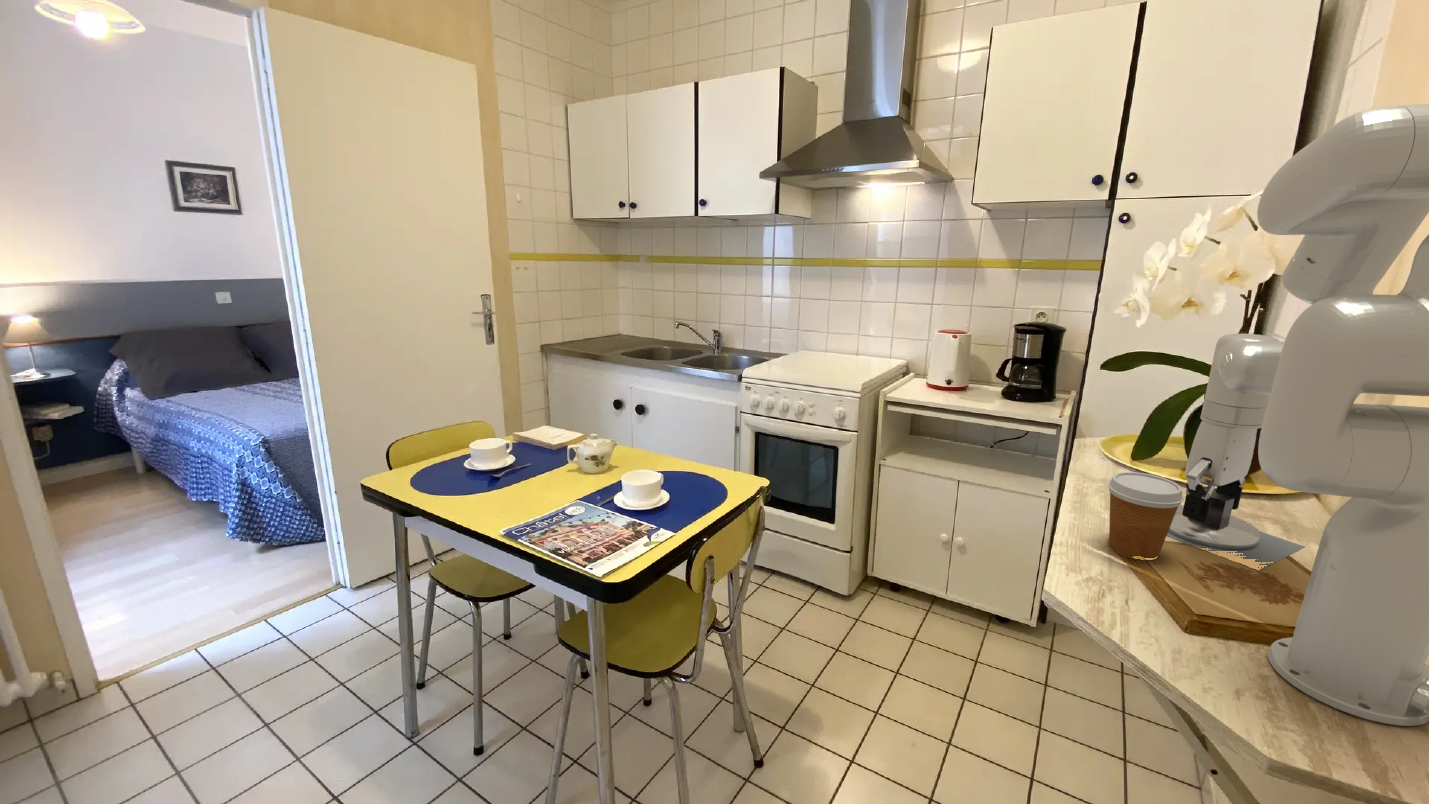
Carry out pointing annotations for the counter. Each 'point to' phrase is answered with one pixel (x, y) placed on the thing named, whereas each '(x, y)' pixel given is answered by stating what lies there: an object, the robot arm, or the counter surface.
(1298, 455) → the robot arm
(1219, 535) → the lid
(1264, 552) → the mat
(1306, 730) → the counter surface
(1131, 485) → the disposable coffee cup
